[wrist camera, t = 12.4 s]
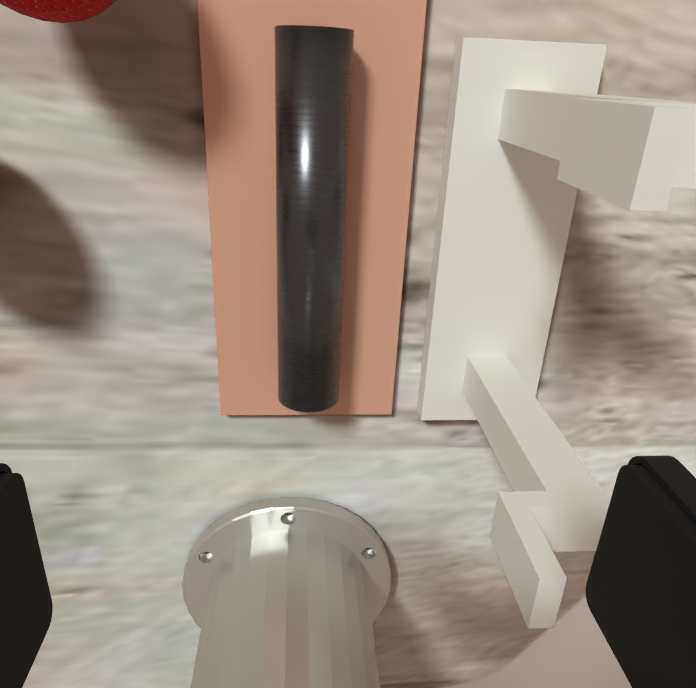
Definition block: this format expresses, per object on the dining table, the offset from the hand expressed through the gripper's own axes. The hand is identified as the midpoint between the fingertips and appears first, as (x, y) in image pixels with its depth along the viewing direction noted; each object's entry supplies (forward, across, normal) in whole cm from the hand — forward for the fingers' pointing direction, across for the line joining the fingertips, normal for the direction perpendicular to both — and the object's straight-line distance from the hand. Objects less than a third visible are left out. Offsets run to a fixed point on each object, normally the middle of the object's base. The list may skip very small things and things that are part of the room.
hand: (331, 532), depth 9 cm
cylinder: (+18, 0, 0) cm, 18 cm away
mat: (+20, 0, 0) cm, 20 cm away
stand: (+20, -9, +1) cm, 22 cm away
